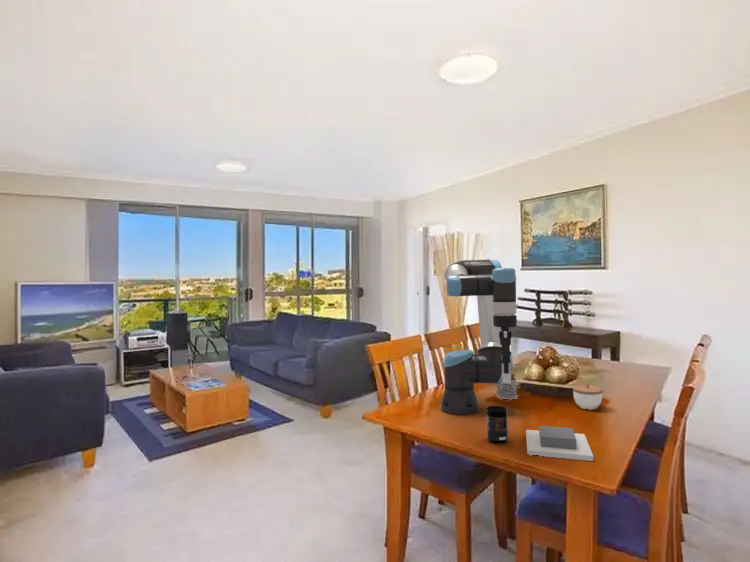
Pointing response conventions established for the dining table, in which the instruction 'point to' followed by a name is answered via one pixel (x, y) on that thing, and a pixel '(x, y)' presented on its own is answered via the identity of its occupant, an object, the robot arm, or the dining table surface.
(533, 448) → the build base
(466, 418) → the dining table surface
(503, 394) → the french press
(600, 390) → the lidded jar
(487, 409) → the supplement container
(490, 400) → the dining table surface
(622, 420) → the dining table surface
